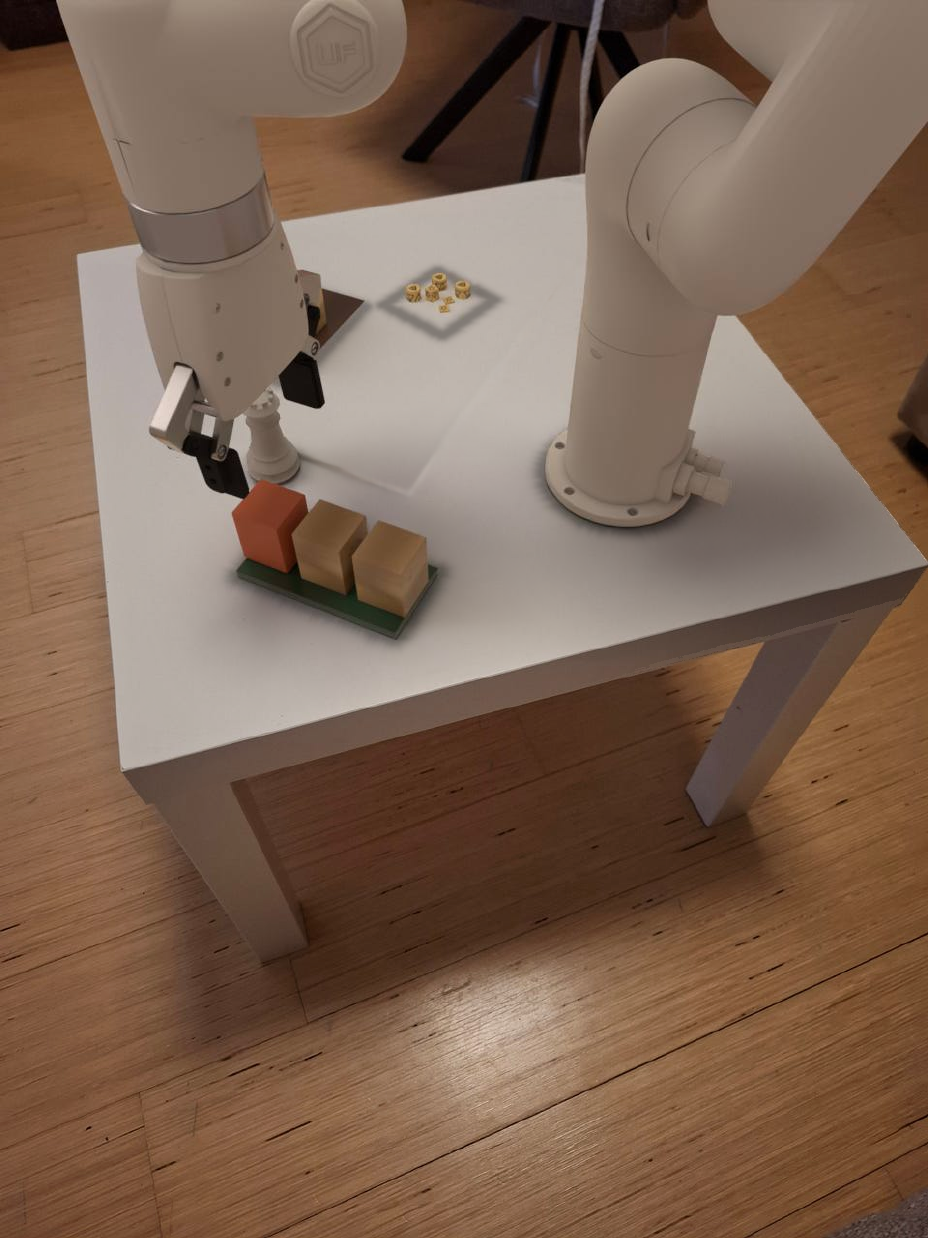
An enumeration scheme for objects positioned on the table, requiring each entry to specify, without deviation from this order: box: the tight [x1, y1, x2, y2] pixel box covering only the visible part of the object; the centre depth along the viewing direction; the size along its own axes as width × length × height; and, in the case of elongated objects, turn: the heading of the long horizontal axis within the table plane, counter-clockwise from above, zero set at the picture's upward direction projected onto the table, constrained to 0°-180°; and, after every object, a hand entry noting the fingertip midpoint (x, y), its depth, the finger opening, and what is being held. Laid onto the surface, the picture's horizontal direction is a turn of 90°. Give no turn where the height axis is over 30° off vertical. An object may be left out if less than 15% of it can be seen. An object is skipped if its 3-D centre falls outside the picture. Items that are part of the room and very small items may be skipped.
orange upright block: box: [230, 479, 310, 573], centre depth 70 cm, size 4×4×5 cm
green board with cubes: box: [235, 498, 439, 640], centre depth 69 cm, size 14×7×6 cm, turn 64°
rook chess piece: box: [242, 386, 301, 485], centre depth 75 cm, size 4×4×8 cm
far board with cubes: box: [277, 282, 365, 378], centre depth 87 cm, size 7×14×6 cm, turn 154°
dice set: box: [405, 272, 471, 314], centre depth 92 cm, size 5×5×2 cm
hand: (268, 444), depth 63 cm, fingers open, 9 cm apart
